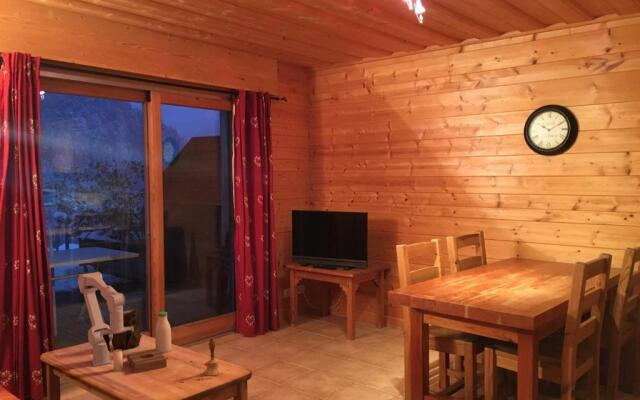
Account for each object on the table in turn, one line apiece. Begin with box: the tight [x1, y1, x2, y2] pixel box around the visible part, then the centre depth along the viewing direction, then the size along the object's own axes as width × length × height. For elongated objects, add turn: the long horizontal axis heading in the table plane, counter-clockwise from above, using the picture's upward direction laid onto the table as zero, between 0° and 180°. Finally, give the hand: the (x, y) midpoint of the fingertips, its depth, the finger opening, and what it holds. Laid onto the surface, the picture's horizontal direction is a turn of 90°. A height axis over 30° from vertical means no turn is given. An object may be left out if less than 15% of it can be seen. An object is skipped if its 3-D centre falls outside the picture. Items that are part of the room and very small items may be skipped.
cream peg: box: [112, 349, 124, 372], centre depth 244 cm, size 4×4×9 cm
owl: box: [111, 308, 142, 352], centre depth 275 cm, size 13×13×20 cm
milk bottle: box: [154, 311, 172, 354], centre depth 269 cm, size 8×8×20 cm
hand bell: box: [203, 337, 223, 377], centre depth 238 cm, size 8×8×16 cm
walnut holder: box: [127, 347, 168, 374], centre depth 250 cm, size 18×14×4 cm
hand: (117, 348), depth 243 cm, fingers open, 7 cm apart
